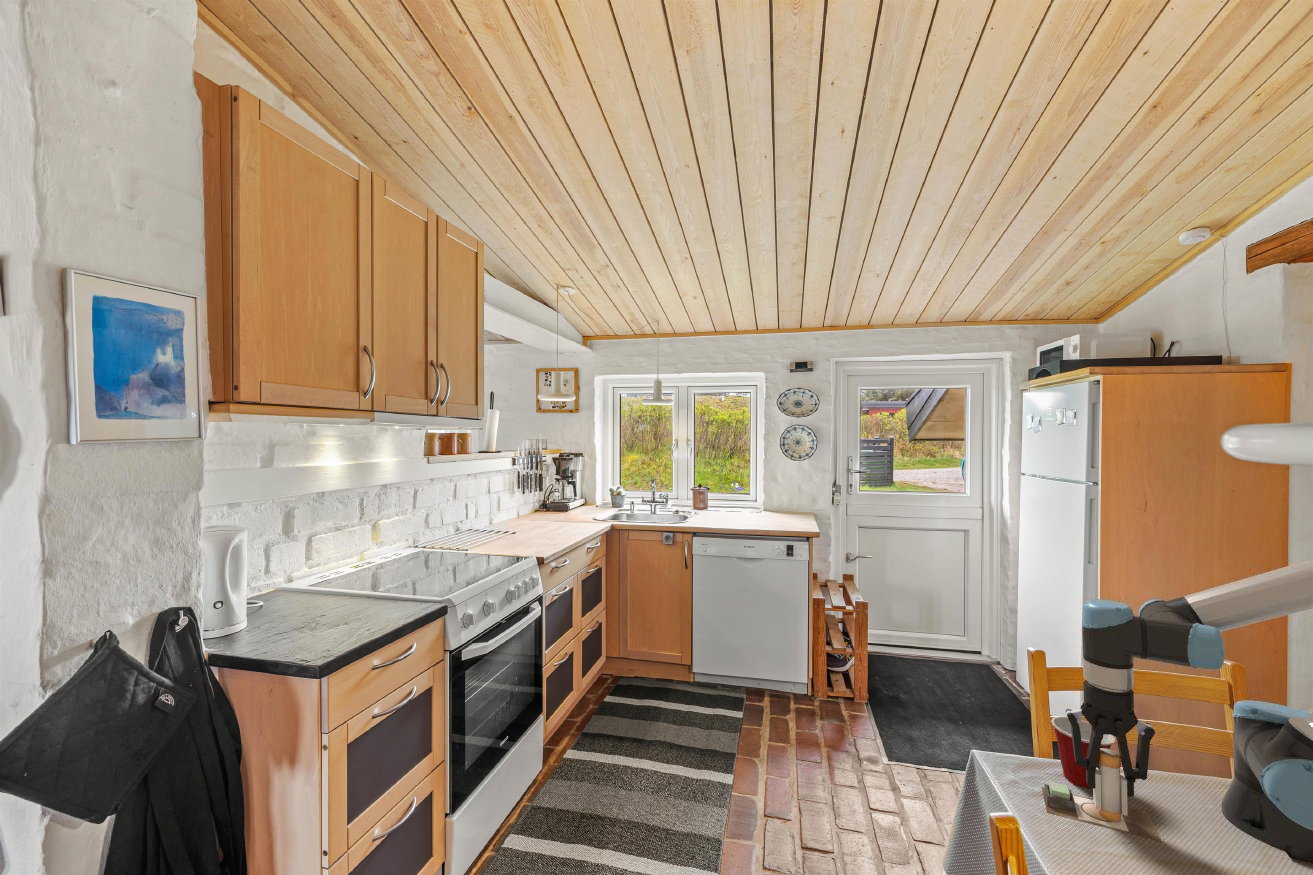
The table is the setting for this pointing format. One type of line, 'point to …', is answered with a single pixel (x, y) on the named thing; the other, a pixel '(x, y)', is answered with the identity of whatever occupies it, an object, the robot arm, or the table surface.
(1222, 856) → the table surface
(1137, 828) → the board
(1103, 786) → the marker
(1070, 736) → the plastic cup
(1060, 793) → the button
